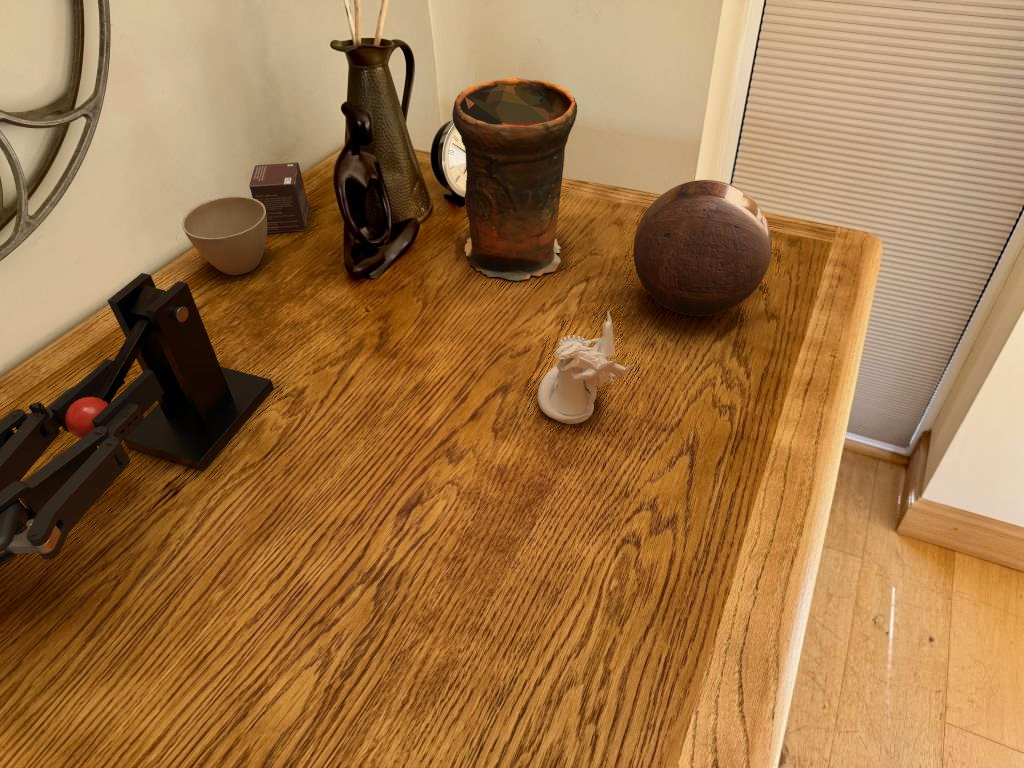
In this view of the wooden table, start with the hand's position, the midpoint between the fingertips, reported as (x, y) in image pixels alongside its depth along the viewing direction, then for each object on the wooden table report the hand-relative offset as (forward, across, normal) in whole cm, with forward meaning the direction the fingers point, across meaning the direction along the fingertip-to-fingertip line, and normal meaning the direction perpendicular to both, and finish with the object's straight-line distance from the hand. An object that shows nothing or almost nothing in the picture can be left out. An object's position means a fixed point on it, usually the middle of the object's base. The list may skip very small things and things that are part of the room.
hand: (135, 376), depth 64 cm
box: (+41, -13, -10) cm, 44 cm away
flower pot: (+29, -13, -10) cm, 34 cm away
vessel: (+44, +20, -10) cm, 49 cm away
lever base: (+5, 0, -10) cm, 11 cm away
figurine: (+18, +37, -10) cm, 42 cm away
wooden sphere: (+40, +44, -10) cm, 60 cm away
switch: (0, 0, 0) cm, 0 cm away
